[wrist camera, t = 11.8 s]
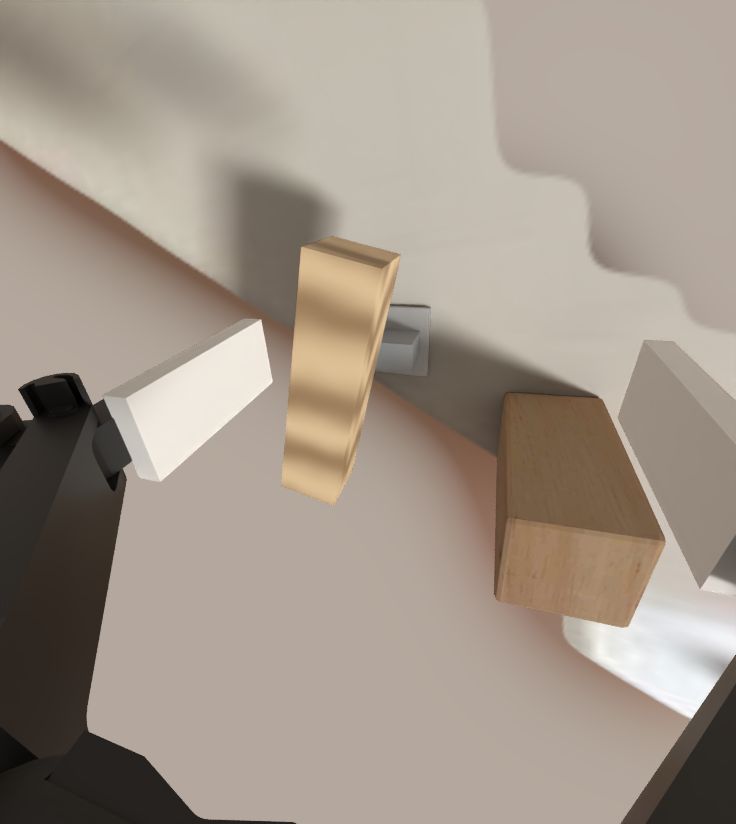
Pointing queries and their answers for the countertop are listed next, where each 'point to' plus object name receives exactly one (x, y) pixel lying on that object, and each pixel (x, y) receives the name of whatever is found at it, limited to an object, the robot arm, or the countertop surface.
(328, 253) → the beam
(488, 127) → the countertop surface
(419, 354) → the bracket
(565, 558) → the wooden block
